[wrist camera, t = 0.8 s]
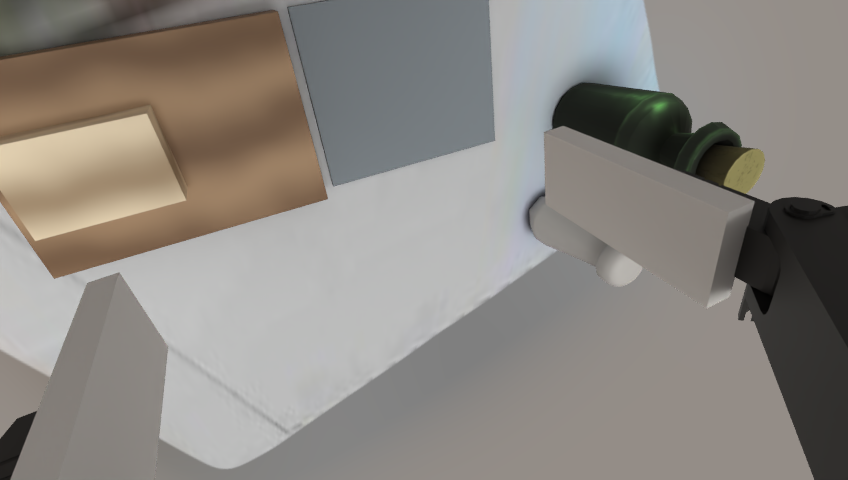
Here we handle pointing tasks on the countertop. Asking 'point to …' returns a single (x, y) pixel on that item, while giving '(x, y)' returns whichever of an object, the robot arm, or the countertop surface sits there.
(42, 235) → the beech block
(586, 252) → the salt shaker
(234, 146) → the board
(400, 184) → the countertop surface
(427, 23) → the slate mat
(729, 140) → the potion bottle
